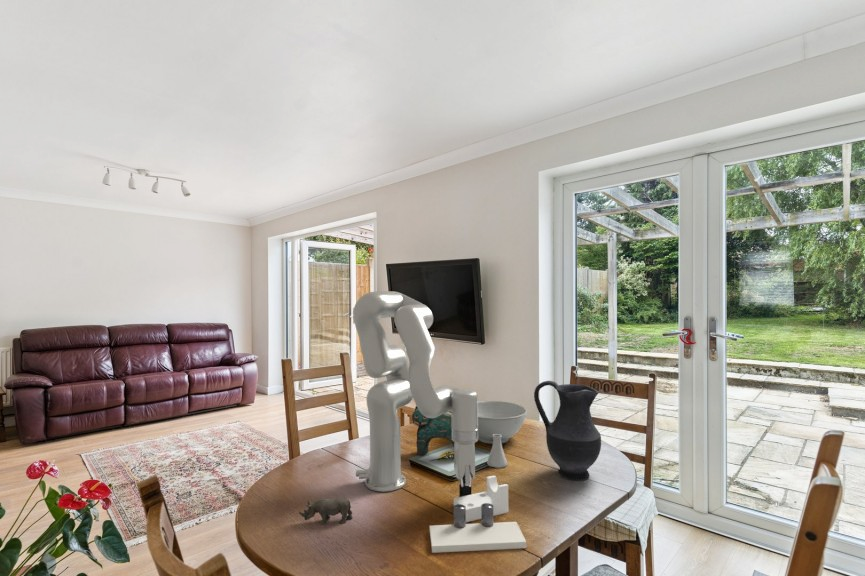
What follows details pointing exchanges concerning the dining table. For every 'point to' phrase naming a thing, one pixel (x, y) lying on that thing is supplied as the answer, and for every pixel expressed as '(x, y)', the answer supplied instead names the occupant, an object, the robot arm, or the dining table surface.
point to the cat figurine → (431, 429)
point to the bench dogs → (485, 515)
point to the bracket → (485, 500)
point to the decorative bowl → (499, 420)
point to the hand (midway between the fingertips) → (465, 499)
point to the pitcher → (571, 430)
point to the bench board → (476, 537)
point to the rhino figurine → (328, 509)
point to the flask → (497, 453)
